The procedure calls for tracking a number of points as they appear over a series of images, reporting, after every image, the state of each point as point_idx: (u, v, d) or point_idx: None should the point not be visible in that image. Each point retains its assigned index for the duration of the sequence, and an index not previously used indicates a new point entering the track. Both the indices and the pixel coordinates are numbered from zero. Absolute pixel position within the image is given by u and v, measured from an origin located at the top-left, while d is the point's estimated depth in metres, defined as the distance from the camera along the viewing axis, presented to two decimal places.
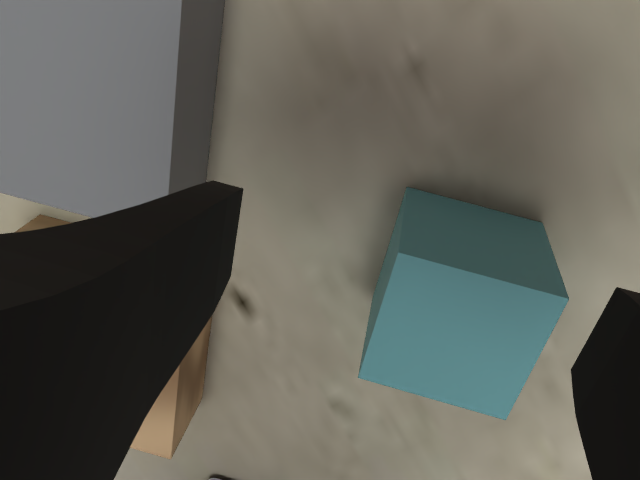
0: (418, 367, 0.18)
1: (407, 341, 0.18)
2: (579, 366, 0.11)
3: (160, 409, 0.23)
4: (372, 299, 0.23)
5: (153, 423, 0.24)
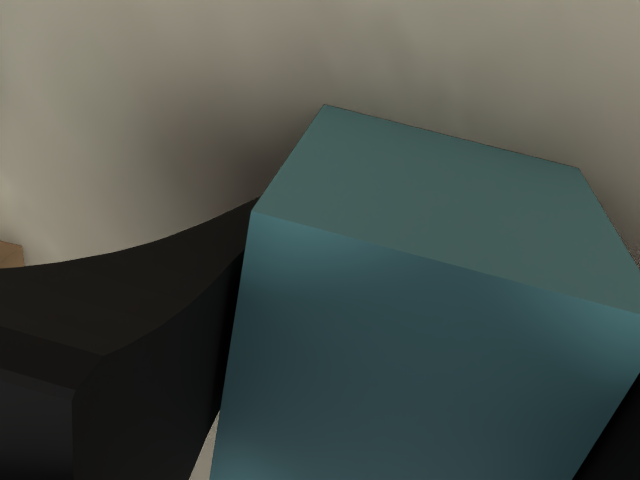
0: (326, 466, 0.09)
1: (299, 414, 0.08)
2: None
3: None
4: None
5: None
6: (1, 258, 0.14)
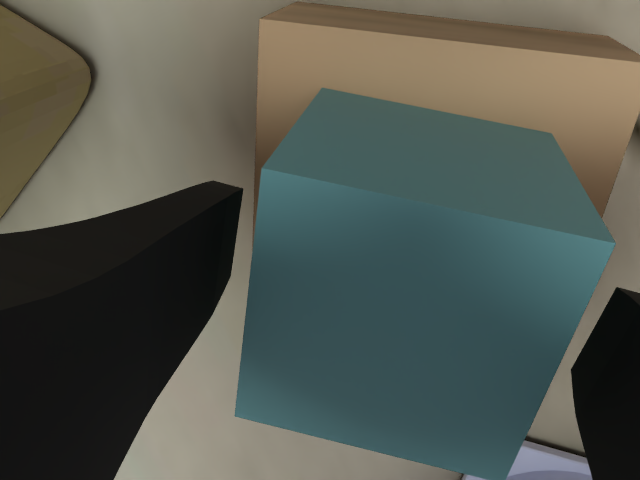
0: (336, 394, 0.10)
1: (309, 348, 0.10)
2: (579, 366, 0.11)
3: None
4: None
5: None
6: (612, 39, 0.14)
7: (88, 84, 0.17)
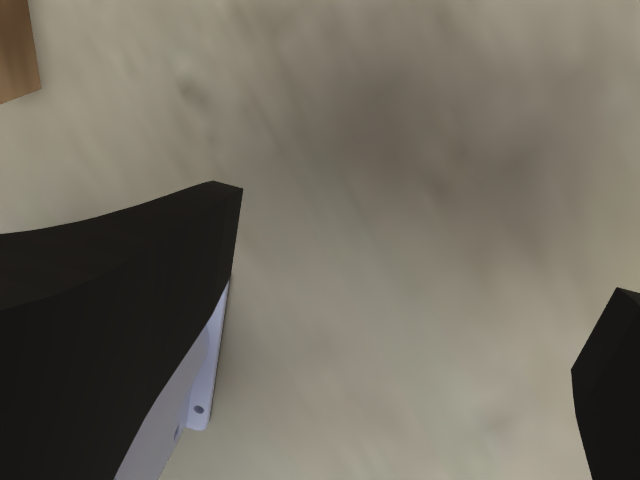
0: None
1: None
2: (579, 366, 0.11)
3: None
4: None
5: None
6: None
7: None
